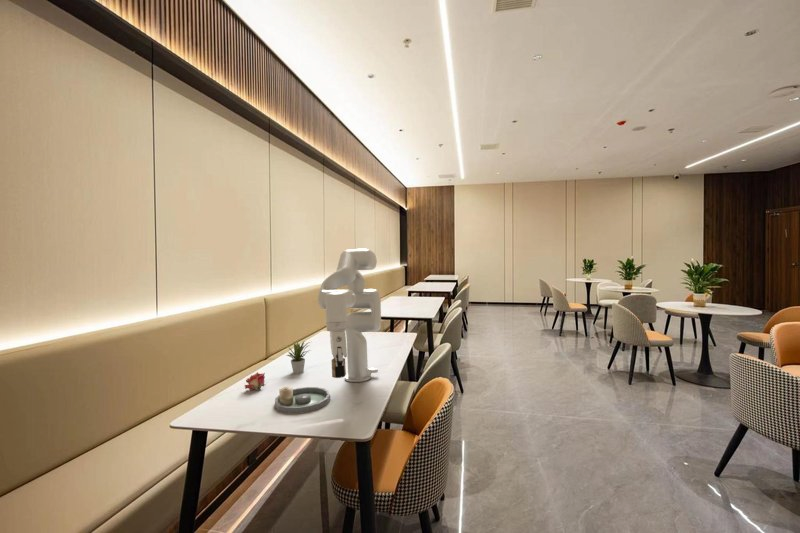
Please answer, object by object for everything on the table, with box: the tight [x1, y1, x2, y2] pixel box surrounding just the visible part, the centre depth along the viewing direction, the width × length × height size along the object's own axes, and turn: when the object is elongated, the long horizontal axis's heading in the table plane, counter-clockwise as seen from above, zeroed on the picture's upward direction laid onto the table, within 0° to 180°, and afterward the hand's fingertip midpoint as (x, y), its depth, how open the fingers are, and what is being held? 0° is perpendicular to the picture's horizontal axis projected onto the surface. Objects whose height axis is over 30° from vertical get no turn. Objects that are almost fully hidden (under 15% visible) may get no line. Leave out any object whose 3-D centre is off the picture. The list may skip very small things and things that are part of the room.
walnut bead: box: [331, 357, 347, 379], centre depth 133 cm, size 5×5×6 cm
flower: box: [244, 372, 267, 391], centre depth 159 cm, size 10×9×8 cm
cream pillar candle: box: [278, 386, 294, 406], centre depth 141 cm, size 5×5×6 cm
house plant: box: [284, 340, 311, 374], centre depth 184 cm, size 14×14×16 cm
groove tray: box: [274, 386, 331, 414], centre depth 143 cm, size 21×21×3 cm
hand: (338, 373), depth 133 cm, fingers closed on walnut bead, 4 cm apart
